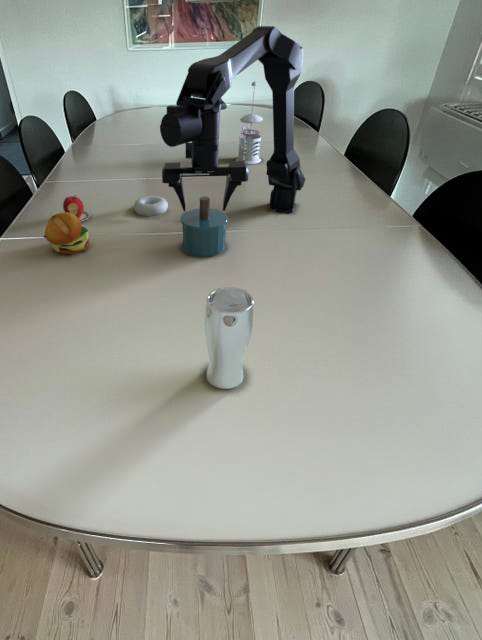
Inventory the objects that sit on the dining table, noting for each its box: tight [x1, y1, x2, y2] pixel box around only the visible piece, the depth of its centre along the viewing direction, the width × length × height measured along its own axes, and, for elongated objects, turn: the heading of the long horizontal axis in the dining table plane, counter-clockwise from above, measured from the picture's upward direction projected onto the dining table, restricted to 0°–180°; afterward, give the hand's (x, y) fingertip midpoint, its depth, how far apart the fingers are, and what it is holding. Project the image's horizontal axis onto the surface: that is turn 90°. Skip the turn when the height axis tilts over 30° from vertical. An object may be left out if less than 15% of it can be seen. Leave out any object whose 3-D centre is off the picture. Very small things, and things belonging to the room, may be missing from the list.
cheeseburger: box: [43, 211, 90, 255], centre depth 101 cm, size 10×11×10 cm
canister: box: [181, 223, 227, 258], centre depth 99 cm, size 10×10×7 cm
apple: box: [62, 194, 91, 223], centre depth 115 cm, size 8×8×6 cm
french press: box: [234, 81, 264, 165], centre depth 146 cm, size 10×12×25 cm
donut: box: [133, 195, 169, 217], centre depth 119 cm, size 10×4×10 cm
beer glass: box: [204, 286, 255, 390], centre depth 62 cm, size 7×7×15 cm
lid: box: [180, 196, 229, 230], centre depth 96 cm, size 11×11×6 cm
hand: (204, 210), depth 95 cm, fingers open, 9 cm apart
